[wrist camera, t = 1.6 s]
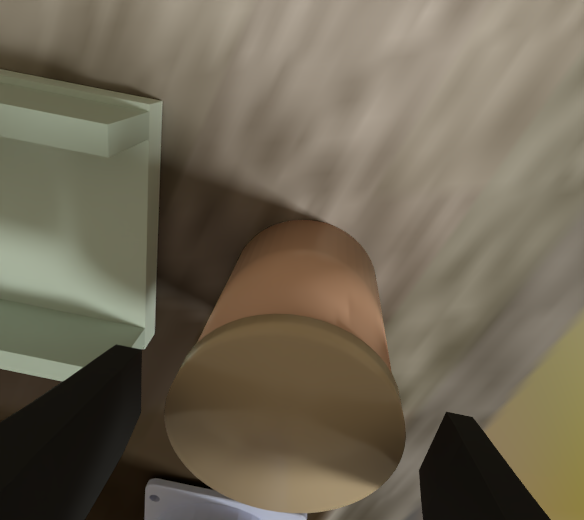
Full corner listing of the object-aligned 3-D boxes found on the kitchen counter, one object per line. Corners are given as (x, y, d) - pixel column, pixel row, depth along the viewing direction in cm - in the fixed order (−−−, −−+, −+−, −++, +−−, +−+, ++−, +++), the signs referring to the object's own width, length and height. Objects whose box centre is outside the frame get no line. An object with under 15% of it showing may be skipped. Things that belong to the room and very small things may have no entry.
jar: (359, 358, 17) (369, 531, 11) (224, 331, 17) (160, 488, 11) (397, 234, 14) (440, 366, 8) (240, 203, 14) (169, 311, 8)
